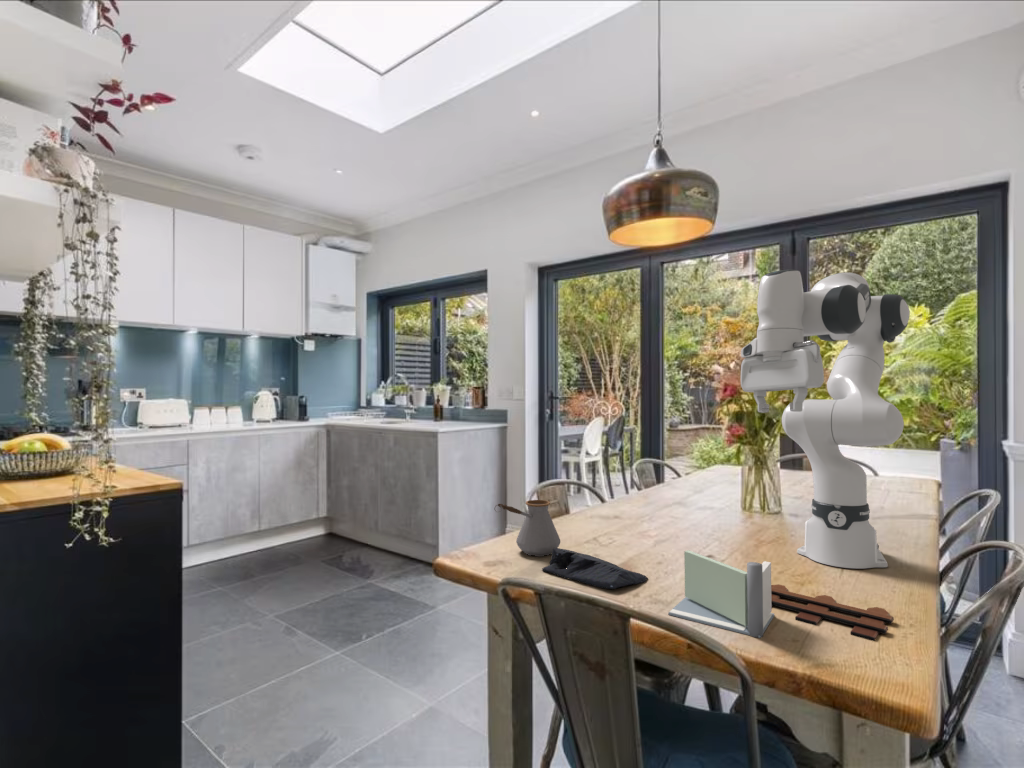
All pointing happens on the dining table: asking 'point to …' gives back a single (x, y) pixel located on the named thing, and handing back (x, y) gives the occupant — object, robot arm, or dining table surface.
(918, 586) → the dining table surface
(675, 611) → the card
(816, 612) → the decorative fence
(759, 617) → the fence post and white panel
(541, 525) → the coffee pot
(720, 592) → the green wall panel
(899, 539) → the dining table surface
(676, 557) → the dining table surface
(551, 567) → the dark slate chunk
